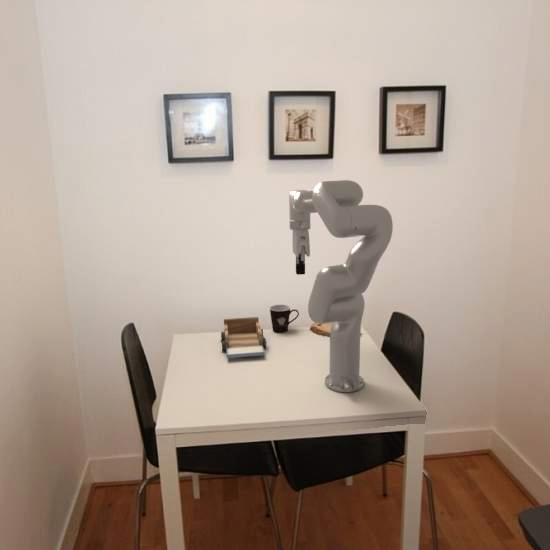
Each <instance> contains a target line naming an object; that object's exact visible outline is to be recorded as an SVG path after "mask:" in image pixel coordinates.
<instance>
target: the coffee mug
mask: <svg viewBox="0 0 550 550" xmlns="http://www.w3.org/2000/svg"><path fill="white" fill-rule="evenodd" d="M269 312H270V319H271V327H272V332H274V333H276V334H284V333H287V332H288V331H289V325H290V324H291V323H292V322H294V321H295V320H296V319H298V317H299V315H300V314H299V310H298V309H292V310H291V306H290V305H288V304H287V305H286V304H274V305H271V306H270V307H269ZM292 312H296V313H297V315H296V316H295V317H294V318H293V319H291V320H290V316H291V314H292Z"/></svg>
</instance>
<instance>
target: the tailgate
mask: <svg viewBox="0 0 550 550" xmlns="http://www.w3.org/2000/svg"><path fill="white" fill-rule="evenodd" d="M265 353H266V352H265V348H263V346H250V347H237V348H227V353H226V358H227V359H231V358H232V359H233V358H243V357H258V356H265Z"/></svg>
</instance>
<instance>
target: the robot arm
mask: <svg viewBox="0 0 550 550" xmlns="http://www.w3.org/2000/svg"><path fill="white" fill-rule="evenodd" d="M288 195H289V196H288V203H289V207H288V208H289V209H288V210H289V212H288V213H289V230H291V231H292V237H291V238H292V252H293V253H292V254H294V255H295V274H296V275H300V276H301V275H305V274H306V256H307V257H308V258H309V257H310V256H311V247H310V246H311V244H310V233H309V232H310V231H309V230H311V214H315V213H317V214H318V216H319V217H320V219H321V221H322V222H323V224H324V226H325V227H326V229H327V231H328V232H329V233H330V235H332V236H333V237H334V238H338V239H345V238H353V237H354V238H356V237H362V238H361V239H359V240H358V241H357V242H356V243H355V244H354V245H353V246H352V247H351V249H350V251H349V253H348V256H347V258H346V261H345V262H343V263H341V264H336V265H329V266H325V267H322V268H321V269H320V270H319V272H318V273H317V274H316V276H315V280H314V283H313V286H312V290H311V291H310V292H311V293H310V296H309V299H308V304H307V305H308V306H307V312H308V316H309V318H310V320H311V321H312V322H314V323H318V324H325V323H331V322H334V323H333V325H332V327H331V330H330V337H329V374H327V375H326V376H325V377H324V384H325V386H326V387H327V388H328V389H330V390H332V391H334V392H339V393H354V392H357V391H359V390H361V389H362V388H364V386H365V380H364V378H363V377H362V376H361V375H360V365H361V364H360V363H361V362H360V360H361V359H360V358H361V355H360V354H361V335H360V333H362V331H361V329H362V321H363V316H364V311H365V304H366V303H365V298H364V295H363V294H364V293H365V292H366V291H367V289H368V287H369V285H370V283H371V282H372V279H373V277H374V274H375V272H376V269H377V267H378V265H379V262H380V260H381V258H382V256H383V255H384V253H385V251H387V248H388V246H389V244H390V242H391V239H392V235H393V230H394V229H393V228H394V227H393V218H392V215H391V213H390V211H389V210H388V209H387V208H386V207H384V206H382V205H378V204H360V203H361V202H362V200H363V198H364V191H363V188H362V187H361V185H360V184H359V183H357V182H356V181H355V180H349V179H345V180H343V179H342V180H326V181H325V180H324V181H321V182H319V183H316V186H314V188H313V190H306V189H295V190H291V191H290V192H289V194H288Z"/></svg>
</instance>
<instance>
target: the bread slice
mask: <svg viewBox="0 0 550 550" xmlns="http://www.w3.org/2000/svg"><path fill="white" fill-rule="evenodd" d="M333 323H334V322H331V323H325V324H318V323H315V322H314V323H313V324H312V325H311V326H310V328H309V331H310V330H311V332H312V333H313V334H315V333H316V335H318V336H321V335H322V337H326V336H327V337H328V338H330V330H331V327H332V325H333ZM361 333H362V332H361ZM361 333H360V336H361V335H362V334H361ZM327 337H326V338H327Z"/></svg>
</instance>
